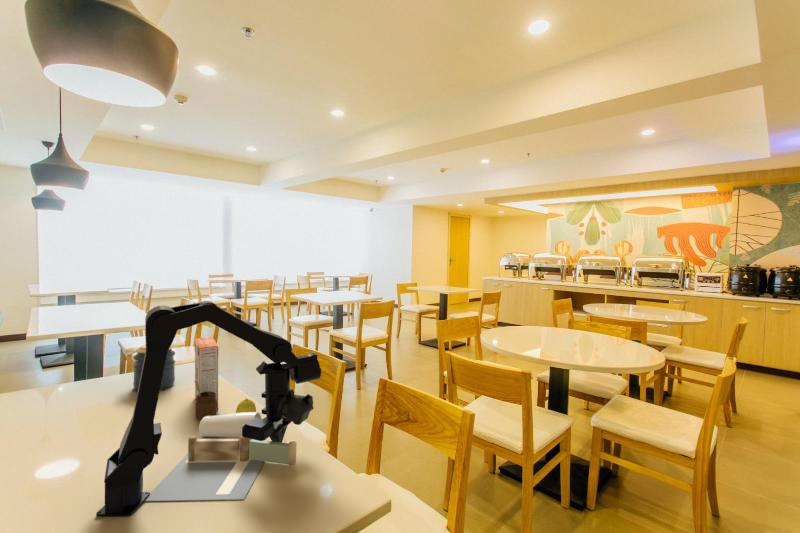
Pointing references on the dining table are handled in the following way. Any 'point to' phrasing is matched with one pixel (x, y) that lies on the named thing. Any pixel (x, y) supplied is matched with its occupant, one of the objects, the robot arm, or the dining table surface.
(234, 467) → the card
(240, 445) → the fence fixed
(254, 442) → the fence panel
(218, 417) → the white tumbler
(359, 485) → the dining table surface
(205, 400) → the utensil holder
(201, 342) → the cracker box
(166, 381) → the canister
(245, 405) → the lemon
